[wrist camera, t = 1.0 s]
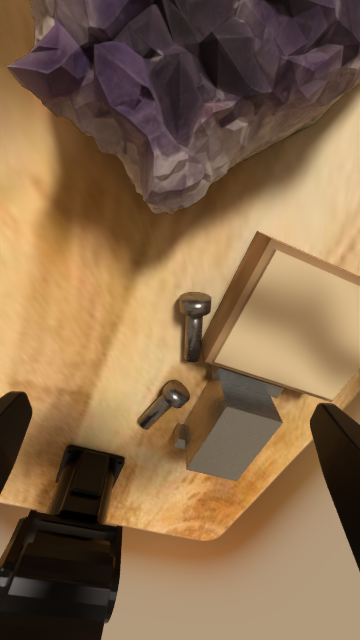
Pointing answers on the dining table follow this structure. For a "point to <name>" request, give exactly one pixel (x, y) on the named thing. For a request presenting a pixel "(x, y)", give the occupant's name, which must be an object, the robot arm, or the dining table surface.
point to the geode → (190, 80)
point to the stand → (288, 321)
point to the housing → (228, 424)
